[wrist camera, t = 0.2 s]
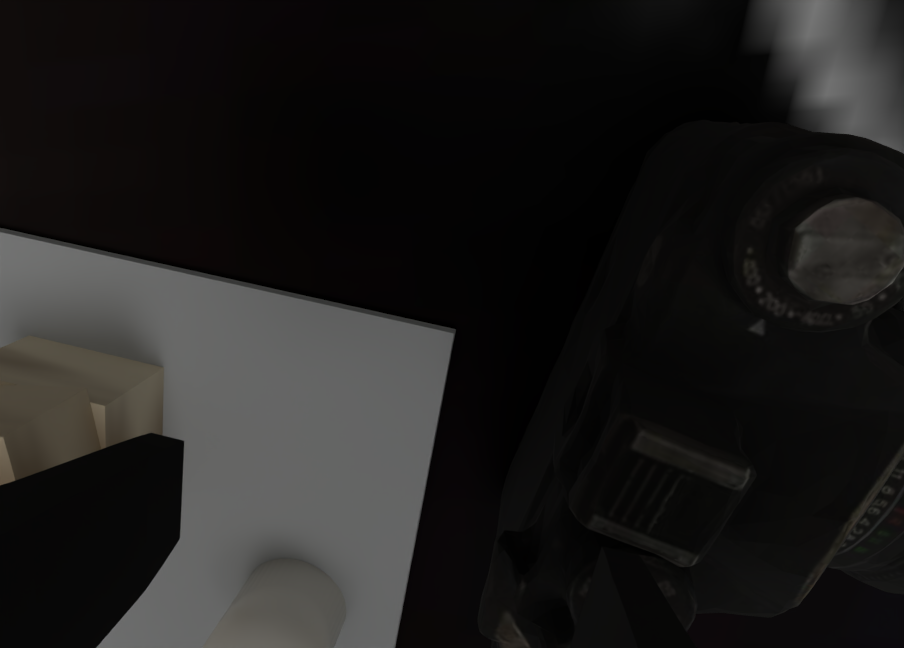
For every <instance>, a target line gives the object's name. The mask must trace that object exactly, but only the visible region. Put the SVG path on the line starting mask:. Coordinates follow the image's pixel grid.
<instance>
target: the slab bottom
mask: <svg viewBox="0 0 904 648" xmlns="http://www.w3.org/2000/svg"><path fill="white" fill-rule="evenodd" d="M0 384H7V385H33V386H58V387H84V388H87V391H88V395H89V400H90V404H91V408H92V413H93V417H94V421H95V426H96V430H97V434H98V438H99V443H100V447H101V449H103V448H106V447H109V446H112V445H114V444H117V443H120V442H123V441H126V440H129V439H132V438H135V437H138V436H141V435H145V434H148V433H155V434H159V435H162V433H163V388H164V367H160V366H156V365H151V364H147V363H143V362H139V361H135V360H130V359H126V358H122V357H118V356H114V355H109V354H105V353H101V352H97V351H93V350H88V349H84V348H80V347H76V346H72V345H67V344H63V343H59V342H55V341H51V340H46V339H42V338H38V337H34V336H30V335H29V336H27V337H25V338H22V339H20V340H18V341H15V342H13V343H11V344H8V345H6V346H3V347H1V348H0Z"/></svg>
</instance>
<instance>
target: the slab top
mask: <svg viewBox="0 0 904 648" xmlns="http://www.w3.org/2000/svg"><path fill="white" fill-rule="evenodd" d="M98 450H101V447H100V443H99V438H98V434H97V430H96V426H95V421H94V417H93V413H92V408H91V404H90V400H89V395H88V391H87V388H84V387H58V386H33V385H7V384H0V485H3V484H6V483H9V482H12V481H15V480H18V479H21V478H24V477H27V476H29V475H32V474H35V473H38V472H40V471H43V470H46V469H49V468H51V467H54V466H57V465H60V464H62V463H65V462H68V461H71V460H73V459H76V458H79V457H82V456H84V455H87V454H90V453H92V452H95V451H98Z"/></svg>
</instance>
